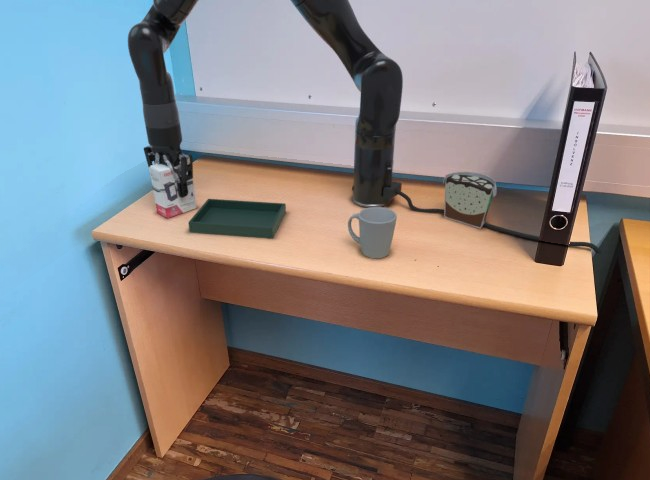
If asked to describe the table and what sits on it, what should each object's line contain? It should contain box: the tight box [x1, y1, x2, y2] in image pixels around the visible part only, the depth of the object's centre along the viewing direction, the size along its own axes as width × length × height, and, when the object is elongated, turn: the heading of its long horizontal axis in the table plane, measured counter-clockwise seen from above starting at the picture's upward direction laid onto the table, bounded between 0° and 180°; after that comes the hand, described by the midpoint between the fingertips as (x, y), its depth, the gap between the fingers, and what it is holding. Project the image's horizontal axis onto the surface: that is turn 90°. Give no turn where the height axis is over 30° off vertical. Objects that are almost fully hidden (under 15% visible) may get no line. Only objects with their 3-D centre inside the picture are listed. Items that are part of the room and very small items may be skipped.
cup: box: [347, 206, 398, 259], centre depth 111 cm, size 8×10×8 cm
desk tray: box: [188, 198, 287, 239], centre depth 125 cm, size 19×13×2 cm
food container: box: [442, 171, 498, 230], centre depth 122 cm, size 12×6×10 cm, turn 47°
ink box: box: [148, 163, 198, 219], centre depth 128 cm, size 8×5×12 cm, turn 134°
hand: (173, 193), depth 129 cm, fingers open, 6 cm apart
